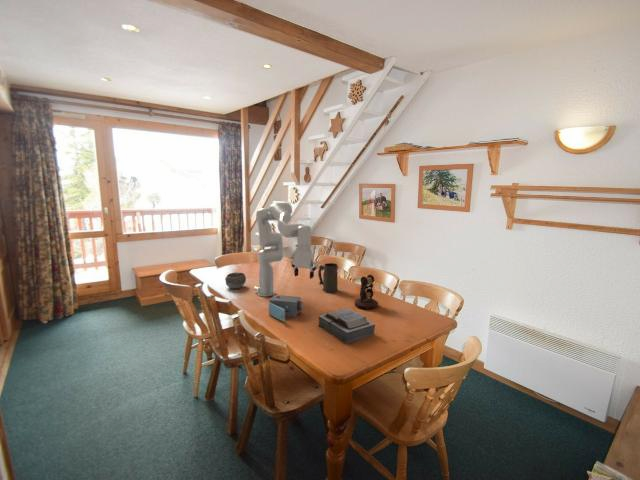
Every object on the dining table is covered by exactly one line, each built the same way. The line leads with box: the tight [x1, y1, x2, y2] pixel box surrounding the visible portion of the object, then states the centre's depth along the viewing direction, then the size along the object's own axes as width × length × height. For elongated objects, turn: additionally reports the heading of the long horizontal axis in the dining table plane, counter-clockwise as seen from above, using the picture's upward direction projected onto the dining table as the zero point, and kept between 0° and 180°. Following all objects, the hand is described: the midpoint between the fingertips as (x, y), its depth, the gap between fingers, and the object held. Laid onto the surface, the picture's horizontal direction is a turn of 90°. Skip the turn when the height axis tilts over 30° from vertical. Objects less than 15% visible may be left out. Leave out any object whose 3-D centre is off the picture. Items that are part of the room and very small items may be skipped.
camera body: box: [269, 294, 304, 318], centre depth 186 cm, size 18×9×10 cm, turn 80°
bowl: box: [224, 271, 247, 290], centre depth 230 cm, size 14×15×10 cm
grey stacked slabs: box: [318, 307, 376, 345], centre depth 166 cm, size 23×27×10 cm
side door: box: [268, 302, 286, 322], centre depth 178 cm, size 14×2×7 cm, turn 45°
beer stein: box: [317, 262, 339, 294], centre depth 228 cm, size 15×11×20 cm
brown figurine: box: [354, 274, 379, 310], centre depth 200 cm, size 15×15×20 cm
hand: (303, 276), depth 180 cm, fingers open, 9 cm apart
